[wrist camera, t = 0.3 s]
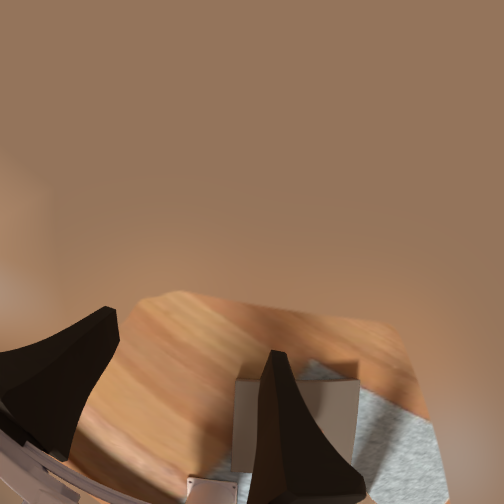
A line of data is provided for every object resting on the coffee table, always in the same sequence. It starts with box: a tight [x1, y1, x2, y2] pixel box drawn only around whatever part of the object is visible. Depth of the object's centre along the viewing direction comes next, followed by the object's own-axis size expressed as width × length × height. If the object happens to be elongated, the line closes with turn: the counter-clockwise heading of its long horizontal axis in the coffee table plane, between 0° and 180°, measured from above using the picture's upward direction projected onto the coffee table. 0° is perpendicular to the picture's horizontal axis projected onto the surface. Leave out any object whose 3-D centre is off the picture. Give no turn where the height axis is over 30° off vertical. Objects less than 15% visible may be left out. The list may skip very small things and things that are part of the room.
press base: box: [231, 378, 360, 473], centre depth 33 cm, size 15×18×3 cm
